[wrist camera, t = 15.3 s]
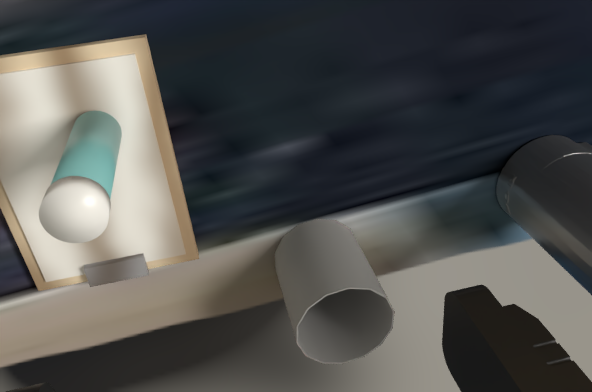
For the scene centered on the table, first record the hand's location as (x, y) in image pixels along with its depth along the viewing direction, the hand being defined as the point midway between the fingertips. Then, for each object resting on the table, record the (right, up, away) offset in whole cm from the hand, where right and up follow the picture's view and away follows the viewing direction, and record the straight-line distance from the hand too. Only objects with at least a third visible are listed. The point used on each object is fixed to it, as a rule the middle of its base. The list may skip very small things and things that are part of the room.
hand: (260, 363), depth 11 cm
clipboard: (-16, +5, +32) cm, 36 cm away
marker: (-14, +8, +29) cm, 33 cm away
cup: (+3, -2, +41) cm, 41 cm away
